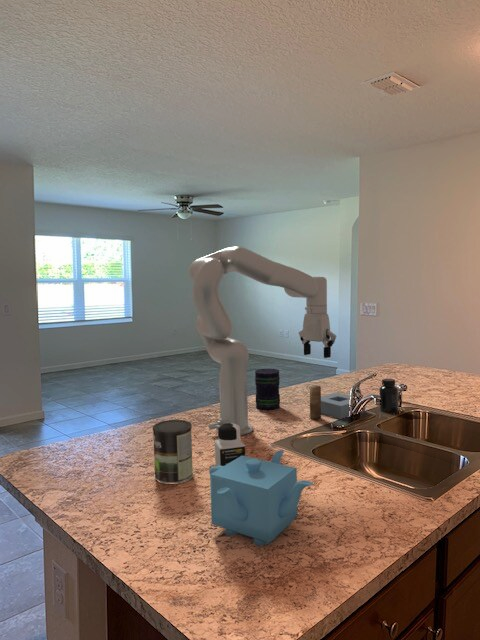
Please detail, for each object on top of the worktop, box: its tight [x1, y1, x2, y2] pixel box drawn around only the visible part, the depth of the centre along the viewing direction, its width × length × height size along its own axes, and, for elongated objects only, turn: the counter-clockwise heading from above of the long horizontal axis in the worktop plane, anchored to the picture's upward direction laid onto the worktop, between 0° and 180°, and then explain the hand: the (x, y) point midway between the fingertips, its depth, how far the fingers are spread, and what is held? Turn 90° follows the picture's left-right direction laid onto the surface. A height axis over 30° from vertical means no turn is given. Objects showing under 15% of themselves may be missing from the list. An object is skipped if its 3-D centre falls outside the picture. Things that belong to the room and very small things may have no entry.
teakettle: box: [209, 449, 314, 547], centre depth 98 cm, size 19×19×15 cm
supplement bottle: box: [379, 378, 399, 413], centre depth 180 cm, size 7×7×12 cm
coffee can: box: [152, 419, 194, 484], centre depth 125 cm, size 10×10×14 cm
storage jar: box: [254, 368, 281, 412], centre depth 188 cm, size 10×10×15 cm
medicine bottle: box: [214, 423, 246, 466], centre depth 131 cm, size 7×7×12 cm
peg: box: [309, 384, 322, 421], centre depth 172 cm, size 4×4×12 cm
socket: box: [321, 392, 366, 420], centre depth 181 cm, size 14×14×5 cm
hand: (317, 356), depth 175 cm, fingers open, 9 cm apart
